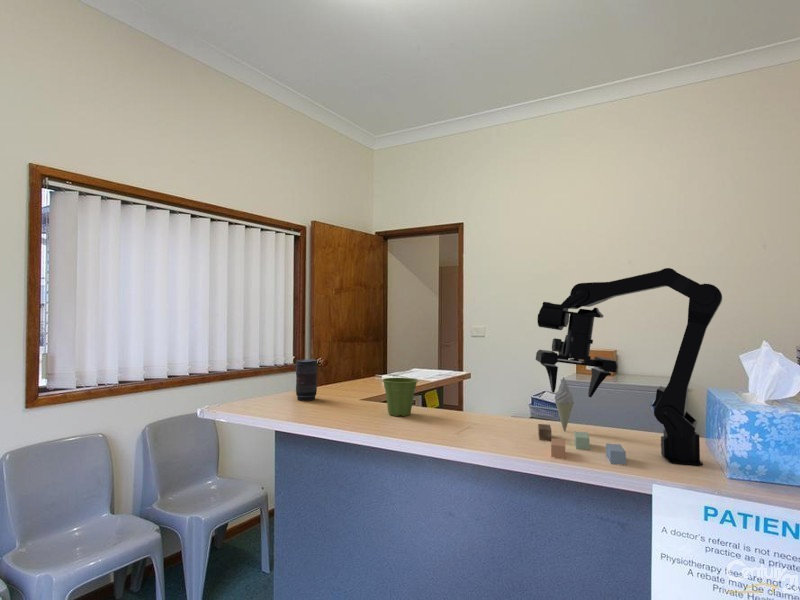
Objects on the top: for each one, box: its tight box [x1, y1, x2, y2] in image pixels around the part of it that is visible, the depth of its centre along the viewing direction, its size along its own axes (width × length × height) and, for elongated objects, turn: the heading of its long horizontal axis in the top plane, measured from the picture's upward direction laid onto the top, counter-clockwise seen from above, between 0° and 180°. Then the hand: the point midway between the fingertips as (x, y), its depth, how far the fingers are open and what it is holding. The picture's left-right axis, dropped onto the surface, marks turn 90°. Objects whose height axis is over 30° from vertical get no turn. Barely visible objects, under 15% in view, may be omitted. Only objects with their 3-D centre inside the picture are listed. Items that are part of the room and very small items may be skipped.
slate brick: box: [605, 443, 627, 465], centre depth 101 cm, size 3×6×3 cm, turn 164°
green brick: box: [574, 431, 591, 451], centre depth 113 cm, size 3×6×3 cm, turn 162°
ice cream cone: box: [554, 376, 575, 432], centre depth 128 cm, size 5×5×15 cm
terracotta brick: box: [550, 437, 566, 459], centre depth 106 cm, size 3×6×3 cm, turn 161°
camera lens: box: [295, 358, 318, 401], centre depth 176 cm, size 8×8×15 cm
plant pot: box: [381, 377, 419, 417], centre depth 149 cm, size 12×12×11 cm
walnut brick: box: [537, 423, 553, 442], centre depth 121 cm, size 3×6×3 cm, turn 166°
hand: (571, 394), depth 116 cm, fingers open, 9 cm apart
